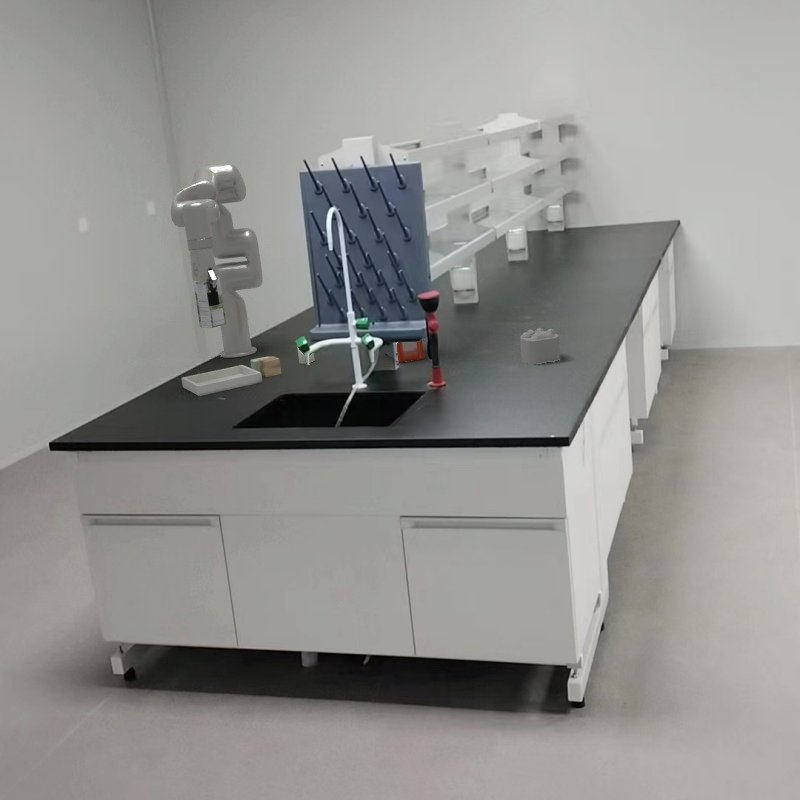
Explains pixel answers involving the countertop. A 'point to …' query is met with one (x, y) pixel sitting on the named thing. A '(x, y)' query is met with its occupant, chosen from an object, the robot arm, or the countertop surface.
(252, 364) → the sage block
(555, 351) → the lumpy-topped squat cylinder
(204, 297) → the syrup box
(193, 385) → the grey tray
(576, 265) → the countertop surface
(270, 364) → the beech cube
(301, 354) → the pale grey block
